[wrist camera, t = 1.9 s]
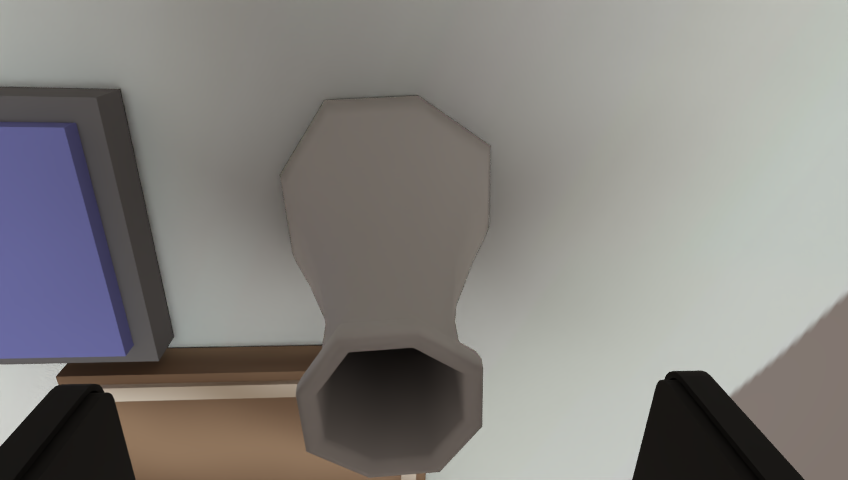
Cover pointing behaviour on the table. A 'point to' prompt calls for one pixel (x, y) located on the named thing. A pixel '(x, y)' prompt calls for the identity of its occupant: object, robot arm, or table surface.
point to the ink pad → (74, 233)
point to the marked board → (214, 414)
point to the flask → (388, 281)
